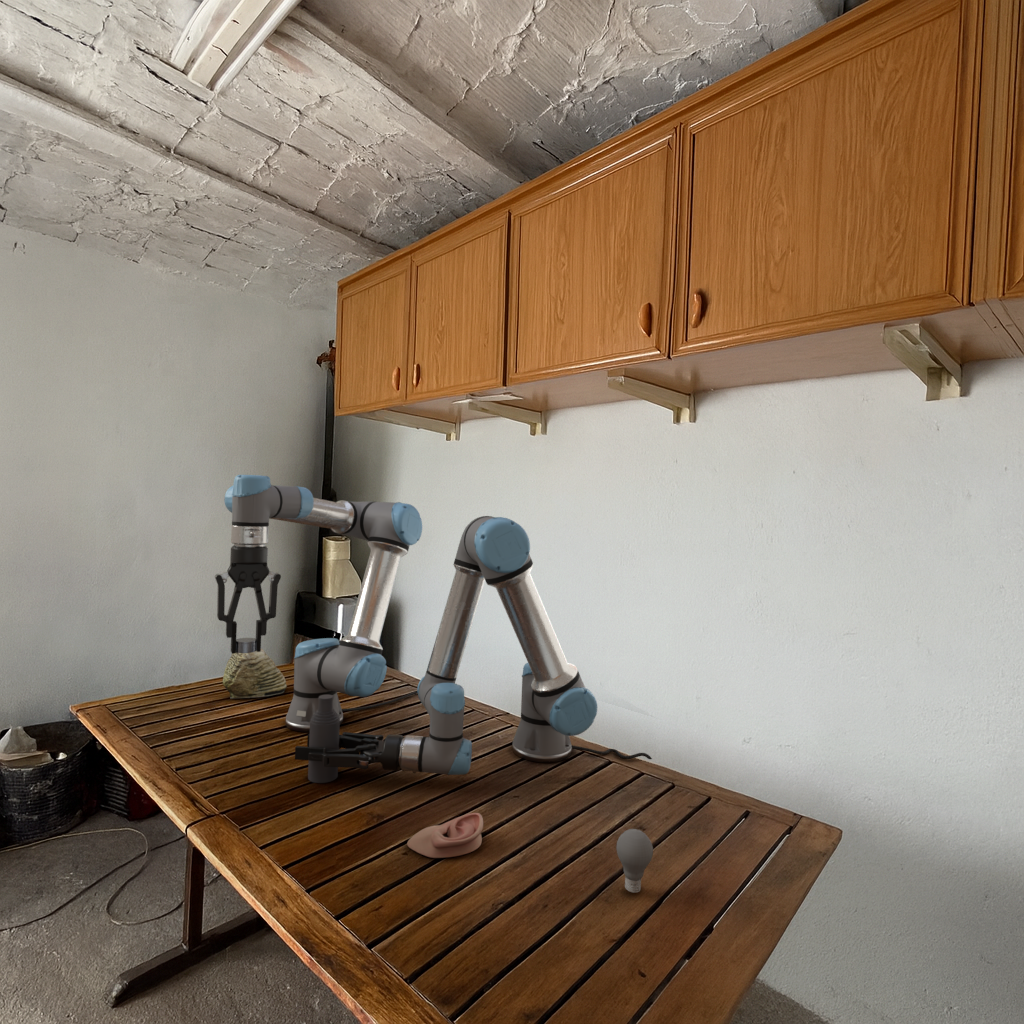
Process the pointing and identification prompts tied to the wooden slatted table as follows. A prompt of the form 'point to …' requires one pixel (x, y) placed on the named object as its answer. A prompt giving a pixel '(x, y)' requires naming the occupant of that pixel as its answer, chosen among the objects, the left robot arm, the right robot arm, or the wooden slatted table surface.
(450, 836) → the anatomical model
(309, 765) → the bottle
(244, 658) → the fossil
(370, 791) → the wooden slatted table surface
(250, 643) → the cap
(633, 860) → the light bulb
